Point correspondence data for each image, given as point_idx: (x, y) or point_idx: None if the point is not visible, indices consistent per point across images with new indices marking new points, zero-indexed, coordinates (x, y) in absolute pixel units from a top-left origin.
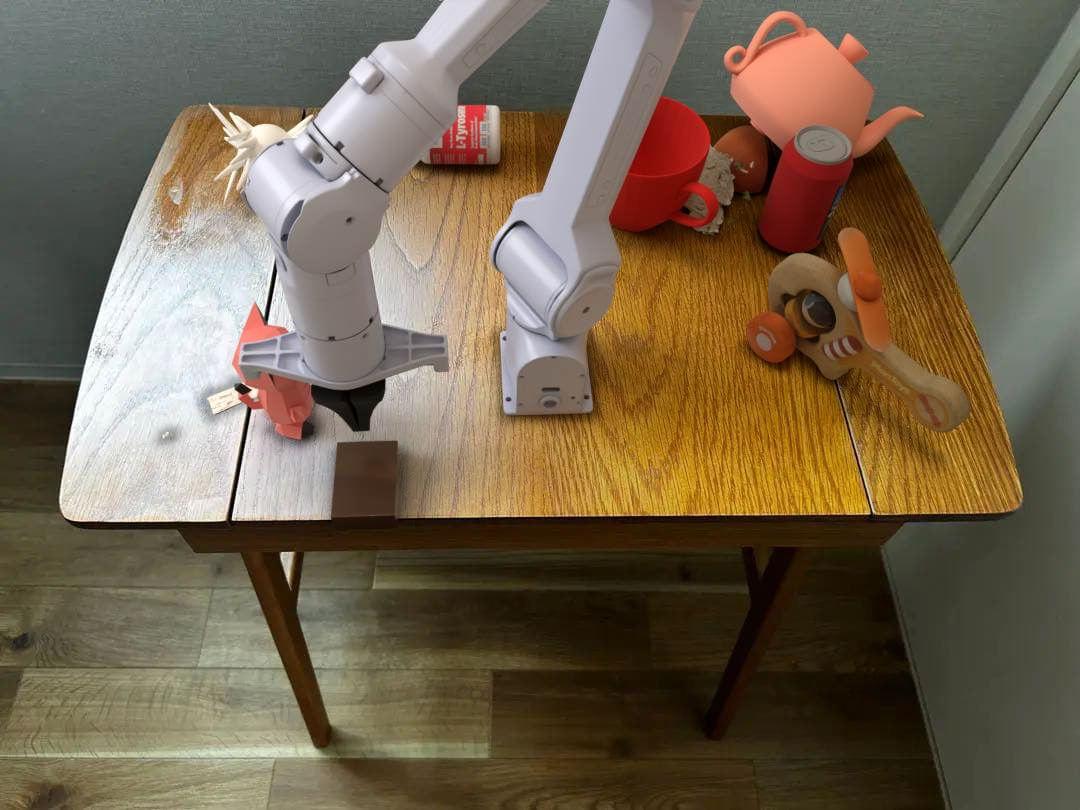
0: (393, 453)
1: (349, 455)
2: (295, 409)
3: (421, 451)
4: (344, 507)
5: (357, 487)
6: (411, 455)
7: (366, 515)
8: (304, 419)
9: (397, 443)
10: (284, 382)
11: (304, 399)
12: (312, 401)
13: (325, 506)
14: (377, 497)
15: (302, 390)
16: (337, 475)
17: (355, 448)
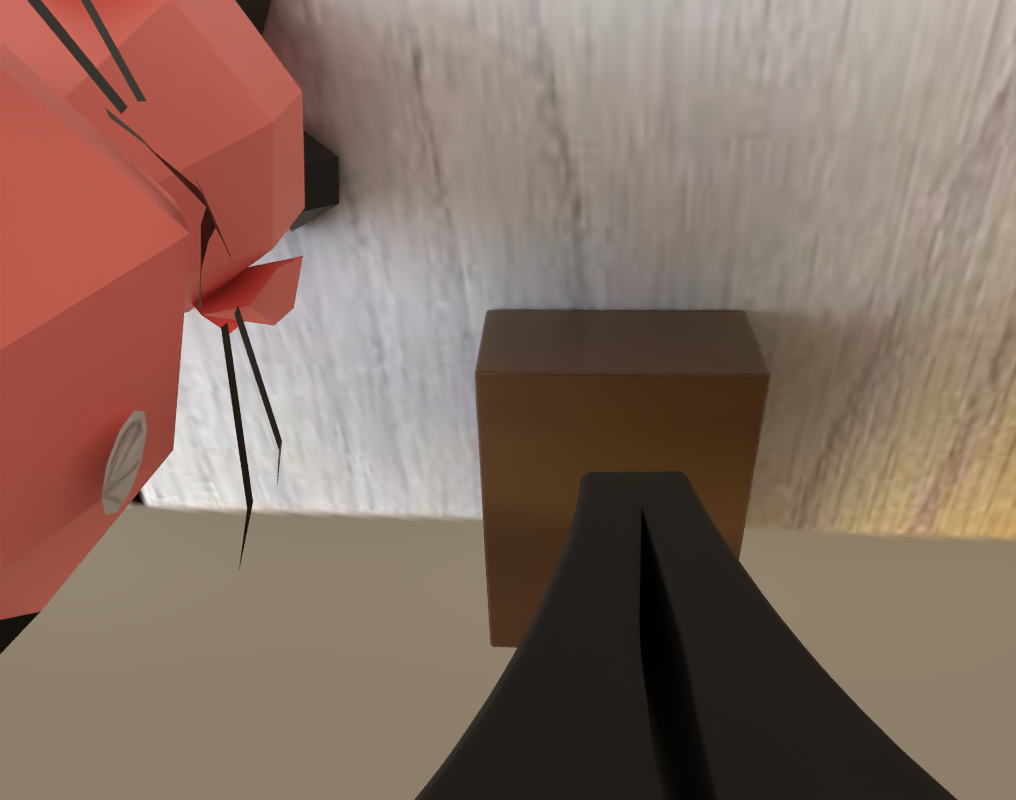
0: (742, 435)
1: (539, 436)
2: (225, 317)
3: (843, 294)
4: None
5: None
6: (794, 311)
7: None
8: (290, 305)
9: (767, 387)
10: (81, 556)
11: (255, 251)
12: (297, 128)
13: (453, 493)
14: None
15: (224, 231)
16: (496, 514)
17: (564, 406)
